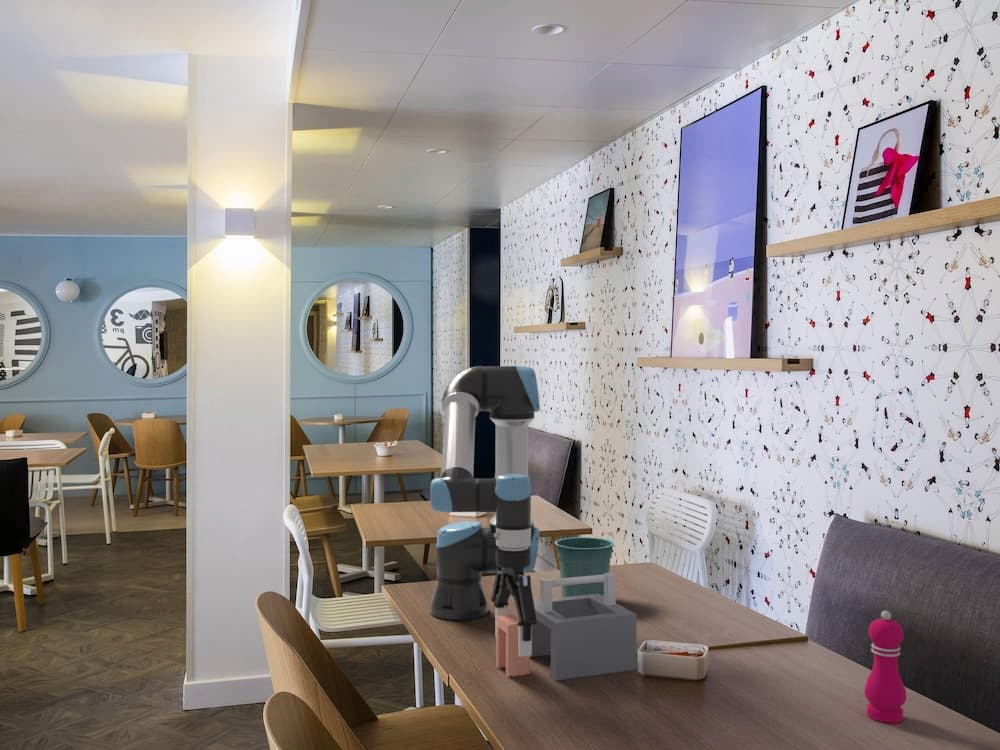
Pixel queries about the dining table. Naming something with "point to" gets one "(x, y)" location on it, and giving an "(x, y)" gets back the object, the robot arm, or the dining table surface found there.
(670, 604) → the dining table surface
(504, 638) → the coral u-channel block
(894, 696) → the pepper mill
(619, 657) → the gray square frame
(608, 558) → the flower pot
